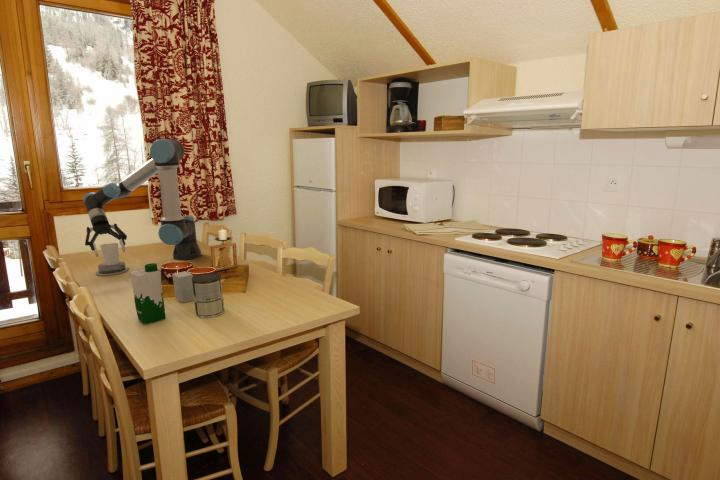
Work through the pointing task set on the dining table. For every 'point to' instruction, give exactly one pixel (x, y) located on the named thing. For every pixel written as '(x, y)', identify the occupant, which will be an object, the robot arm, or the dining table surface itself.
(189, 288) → the small box
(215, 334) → the dining table surface
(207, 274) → the coffee can
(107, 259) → the white cup
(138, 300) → the milk carton
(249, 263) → the dining table surface
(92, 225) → the robot arm
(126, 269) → the grey round shallow piece
